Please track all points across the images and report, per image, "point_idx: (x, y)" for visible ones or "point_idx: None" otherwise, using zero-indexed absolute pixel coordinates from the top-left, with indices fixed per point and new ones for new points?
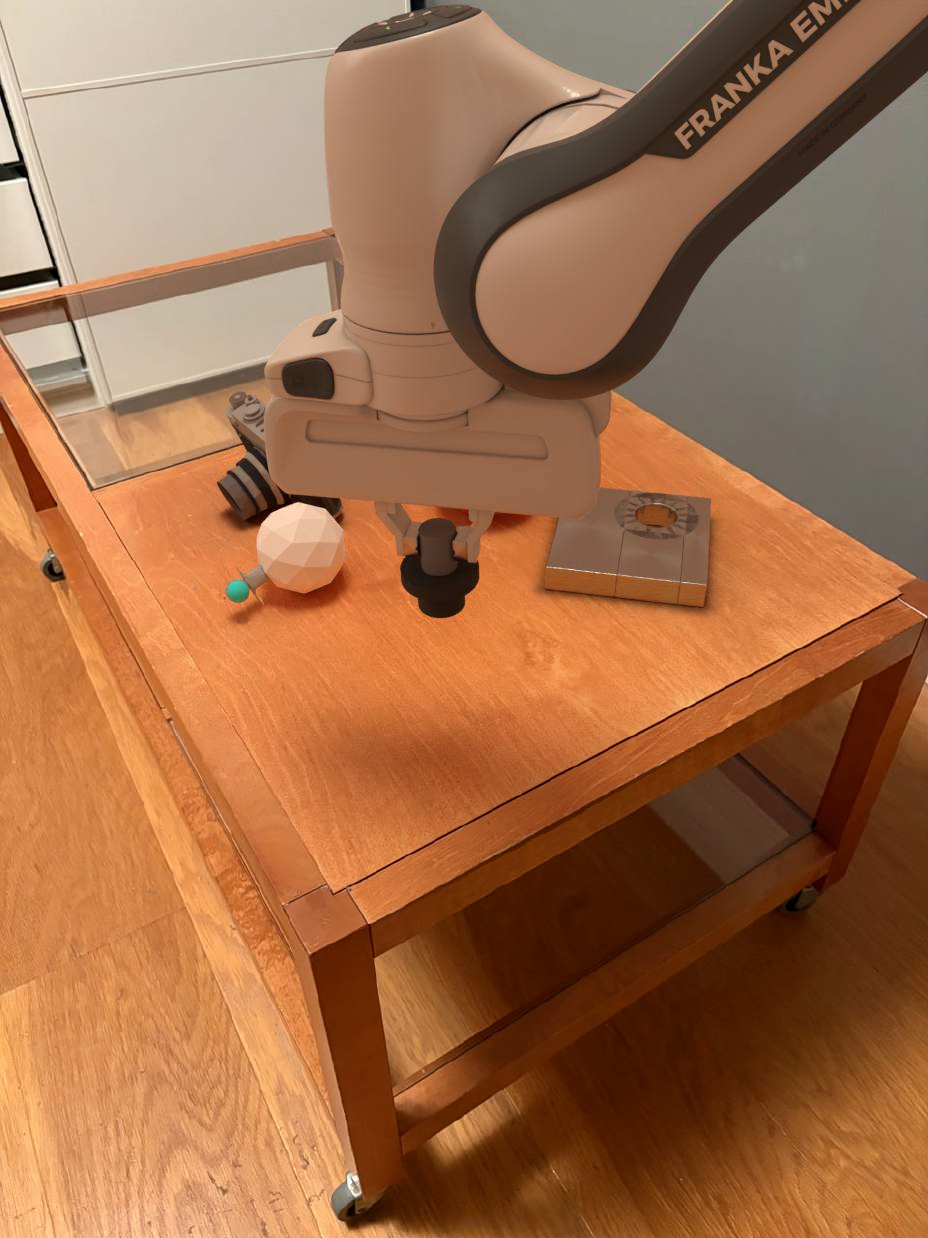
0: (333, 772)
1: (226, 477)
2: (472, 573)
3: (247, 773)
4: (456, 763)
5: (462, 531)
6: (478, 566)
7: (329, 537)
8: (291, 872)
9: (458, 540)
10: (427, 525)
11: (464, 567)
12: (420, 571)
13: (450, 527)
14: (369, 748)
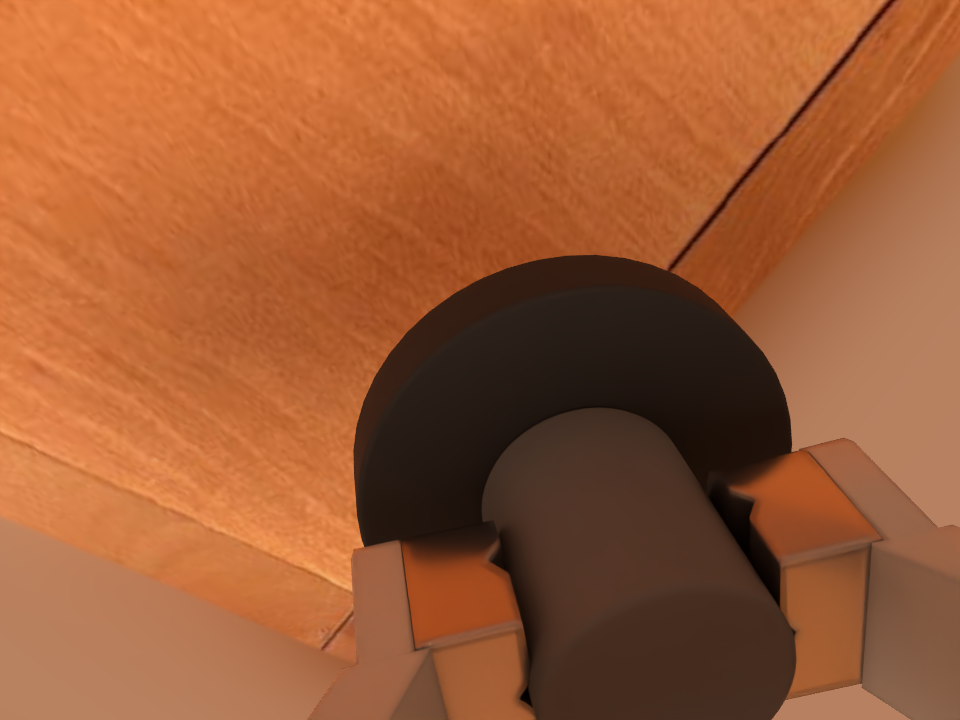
0: (211, 384)
1: None
2: None
3: (11, 468)
4: (490, 243)
5: (825, 607)
6: (787, 415)
7: None
8: (286, 608)
9: (815, 681)
10: (595, 703)
11: (717, 455)
12: None
13: (758, 655)
14: (251, 284)
